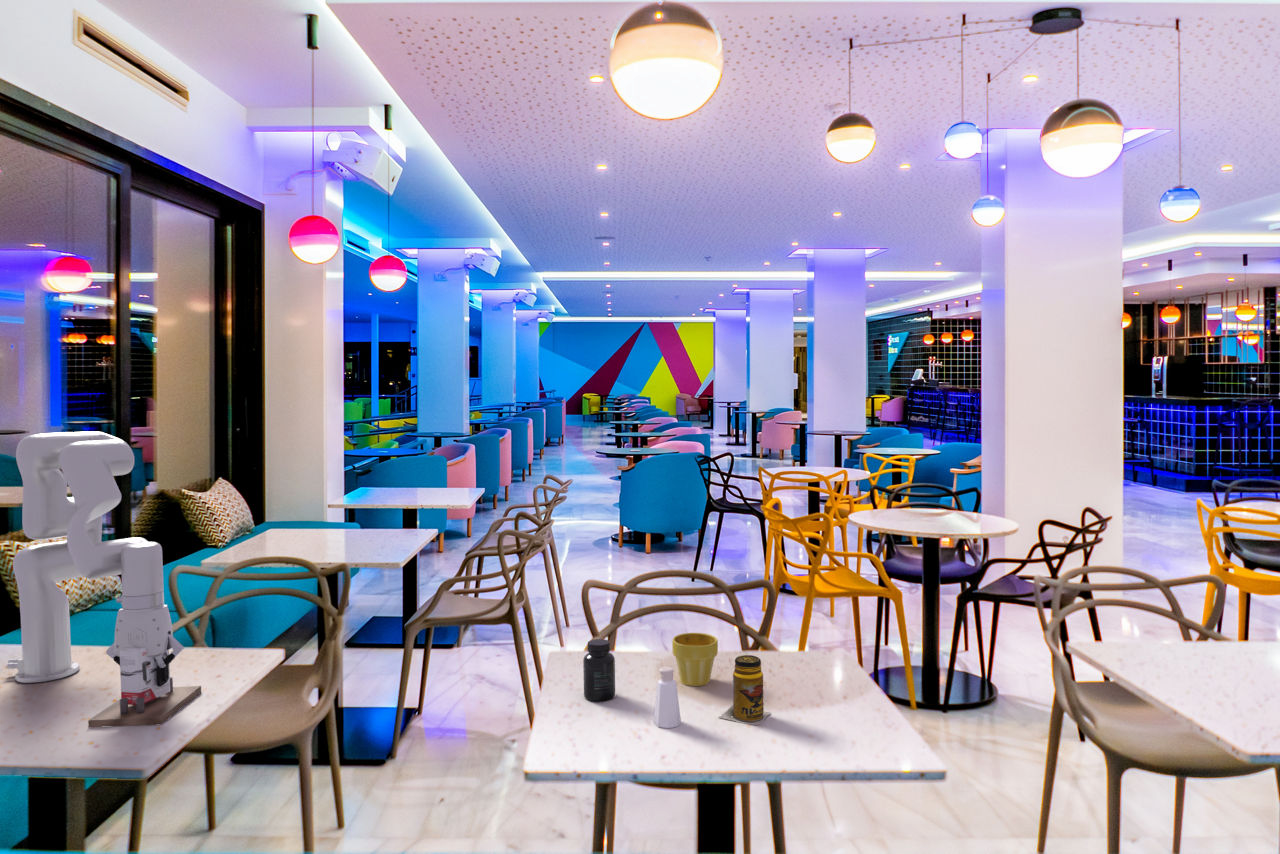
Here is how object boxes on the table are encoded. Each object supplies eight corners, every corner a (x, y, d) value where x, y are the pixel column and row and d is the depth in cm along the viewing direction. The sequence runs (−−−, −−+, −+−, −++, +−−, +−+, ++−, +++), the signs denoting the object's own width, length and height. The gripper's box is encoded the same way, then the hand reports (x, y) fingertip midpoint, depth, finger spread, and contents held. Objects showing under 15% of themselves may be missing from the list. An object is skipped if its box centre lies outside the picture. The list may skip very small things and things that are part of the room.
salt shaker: (679, 717, 166) (679, 663, 166) (682, 728, 161) (681, 672, 161) (653, 718, 166) (652, 664, 166) (654, 729, 161) (653, 673, 160)
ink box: (140, 706, 170) (138, 650, 170) (120, 704, 171) (118, 649, 171) (172, 691, 179) (170, 637, 178) (152, 690, 180) (150, 636, 179)
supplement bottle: (583, 691, 182) (582, 637, 181) (614, 690, 182) (613, 636, 182) (583, 703, 175) (582, 647, 174) (616, 701, 175) (615, 646, 175)
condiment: (757, 726, 162) (757, 666, 161) (718, 718, 166) (717, 659, 165) (770, 713, 168) (770, 655, 167) (732, 706, 172) (731, 649, 172)
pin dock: (88, 727, 166) (87, 705, 165) (136, 695, 184) (135, 675, 183) (160, 724, 167) (160, 702, 167) (201, 692, 185) (200, 672, 184)
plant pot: (726, 685, 184) (725, 642, 184) (684, 692, 181) (683, 648, 180) (705, 671, 194) (705, 630, 194) (665, 677, 190) (665, 635, 190)
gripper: (90, 606, 170) (93, 693, 171) (177, 604, 171) (180, 689, 172) (110, 597, 177) (113, 680, 178) (193, 595, 179) (196, 677, 179)
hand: (146, 684), depth 175 cm, fingers closed on ink box, 5 cm apart
